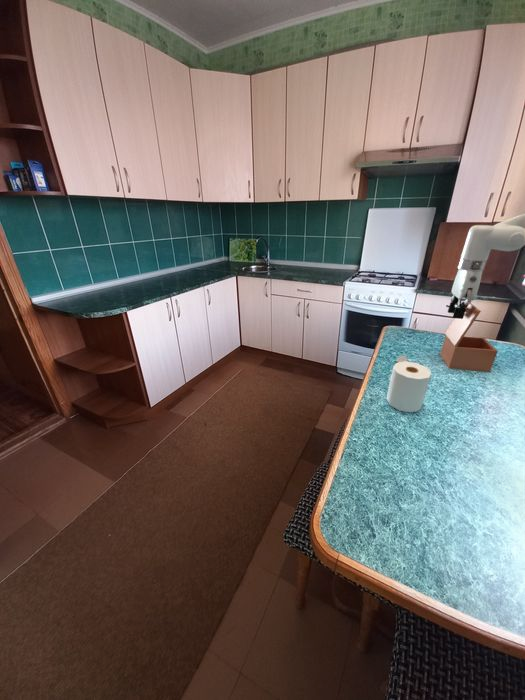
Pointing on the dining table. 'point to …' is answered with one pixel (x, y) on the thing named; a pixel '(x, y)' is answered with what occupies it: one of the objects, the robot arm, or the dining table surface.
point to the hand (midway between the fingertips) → (455, 314)
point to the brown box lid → (462, 324)
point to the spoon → (400, 359)
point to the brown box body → (469, 354)
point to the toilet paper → (408, 386)
